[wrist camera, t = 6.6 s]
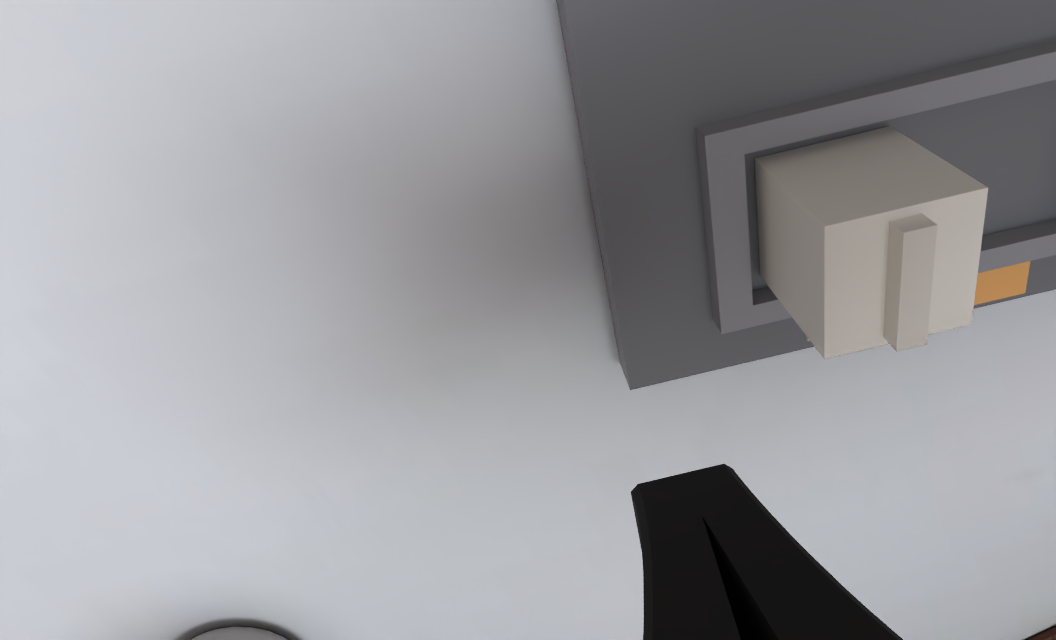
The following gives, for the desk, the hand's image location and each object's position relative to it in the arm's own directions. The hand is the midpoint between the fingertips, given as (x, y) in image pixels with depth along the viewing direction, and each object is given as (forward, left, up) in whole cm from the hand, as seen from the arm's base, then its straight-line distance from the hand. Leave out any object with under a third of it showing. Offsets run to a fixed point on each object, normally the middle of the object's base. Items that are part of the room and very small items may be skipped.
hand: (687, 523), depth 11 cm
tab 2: (-6, 0, -8) cm, 10 cm away
